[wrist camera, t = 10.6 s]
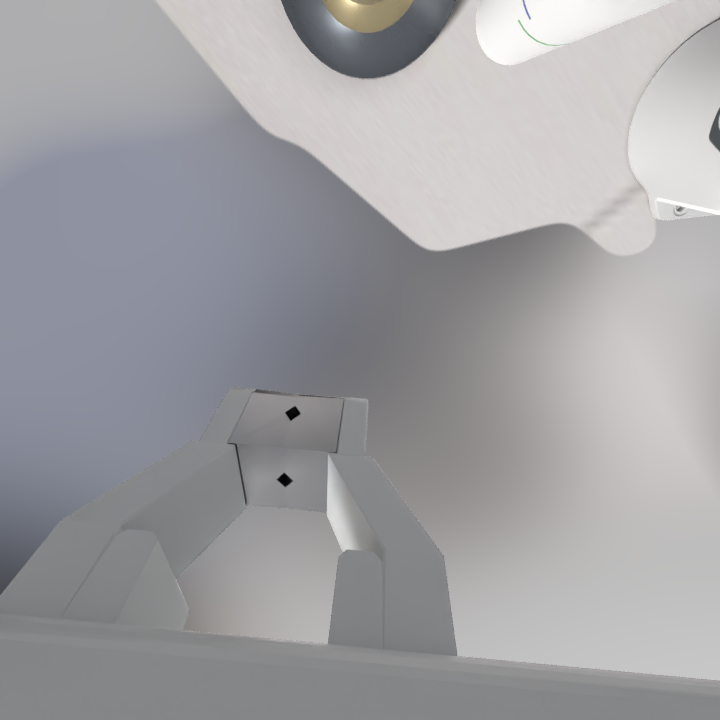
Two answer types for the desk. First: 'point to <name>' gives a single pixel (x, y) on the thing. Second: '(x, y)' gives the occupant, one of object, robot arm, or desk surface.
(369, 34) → the turntable platter
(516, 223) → the desk surface
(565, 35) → the cylindrical container
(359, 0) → the silver metal canister
